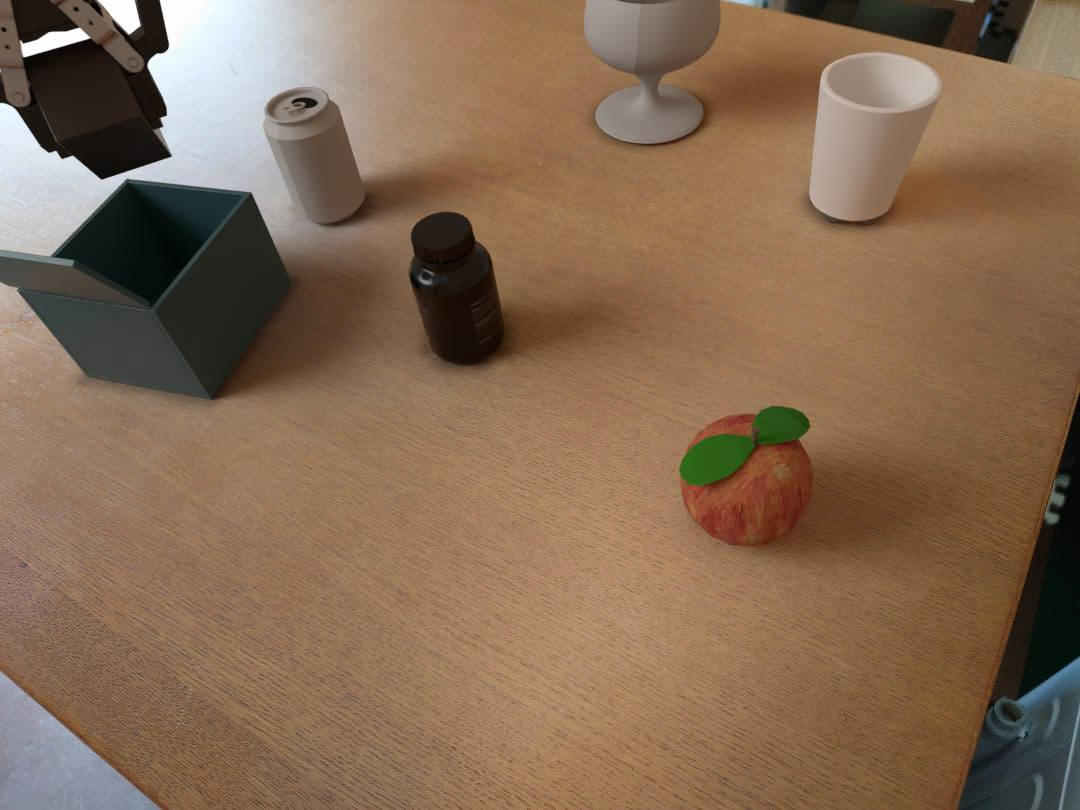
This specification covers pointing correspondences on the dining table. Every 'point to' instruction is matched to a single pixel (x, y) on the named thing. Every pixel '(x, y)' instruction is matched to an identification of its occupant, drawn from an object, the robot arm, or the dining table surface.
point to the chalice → (650, 62)
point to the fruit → (749, 476)
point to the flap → (62, 278)
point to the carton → (168, 286)
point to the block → (93, 109)
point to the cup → (868, 132)
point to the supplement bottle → (455, 289)
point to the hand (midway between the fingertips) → (112, 136)
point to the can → (313, 154)
